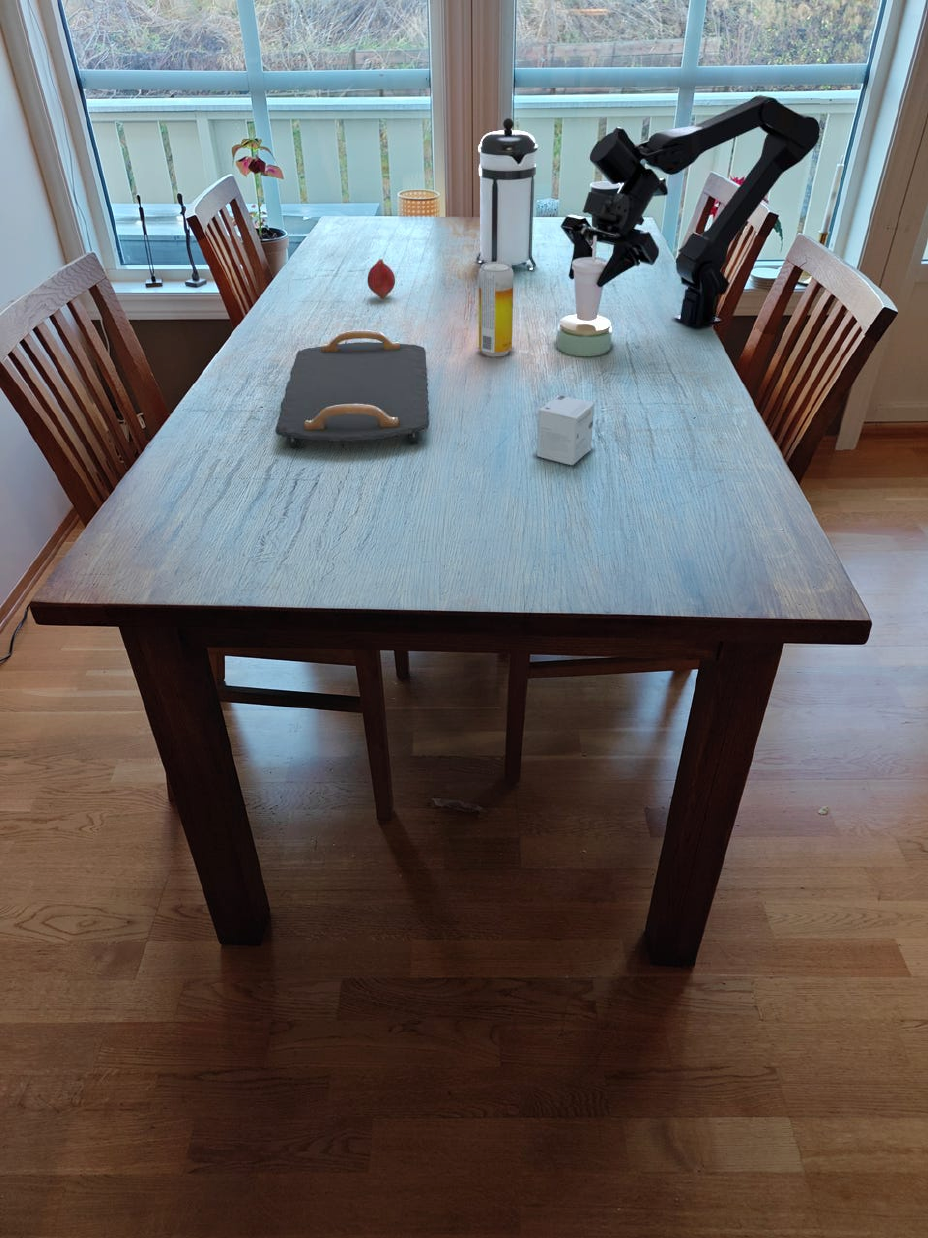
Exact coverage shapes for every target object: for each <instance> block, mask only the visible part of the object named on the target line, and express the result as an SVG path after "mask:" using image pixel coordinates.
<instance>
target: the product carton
mask: <svg viewBox="0 0 928 1238" xmlns="http://www.w3.org/2000/svg"><path fill="white" fill-rule="evenodd" d="M594 415H595V402H594V403H593V402H592V401H588V400H582V399H578V398H573V397H569V396H565V395H559V394H558V395H557V396H555V397H553V398H552V399H551V400H549V401H547V402H546V403H545V404H544V405H543V406H541V407H540V408H539V409H538V415H537V416H538V417H537V418H538V419H537V434H536V435H537V438H536V457H539V458H542V459H545V460H550V461H553V462H557V463H561V464H564V465H568V466H574V465H575V464H576V463H578V461H579V460H580V459H581V458H583V457H584V456H585V455H586V454H588V453H589V452H590V451H591V449H592V439H593V426H594Z"/></svg>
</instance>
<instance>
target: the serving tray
mask: <svg viewBox="0 0 928 1238" xmlns="http://www.w3.org/2000/svg"><path fill="white" fill-rule="evenodd" d="M359 339H360V340H361V339H365V340H366V339H369V340H375V341H379V342H373V341H372V342H370V341H365V342H362V341H361V342H359V341H358V342H347V343H342V342H345V341H349V340H359ZM426 351H427V350H426V349H425V347H423V346H420V345H417V344H407V343H400V341H397V342H396V341H392V340H391V339H390V338H389V337H388V336H386V335H385V334H384V333H382V332H380V331H376V330H368V329H365V330H364V329H356V330H348V331H343V332H340V333H338V334H337V335H335V336H334V337H333V338H332V339H331V340H330V342H328V343H327V344H321V346H315V347H307V348H305V349H302V350H298V351H297V353H296V354H295V358H294V362H293V365H292V367H291V370H290V371H289V372H290V373H289V374H290V377H289V380H288V381H287V384H286V385H285V389H284V391H285V392H284V397H283V398H282V401H281V402H280V412H279V416H278V418H277V422H276V426H275V434H276V435H277V436H281V437H285V444H286V445H287V446H288V448H289V449H297V448H298V447H299V445H300V443H301V440H304V441H305V440H306V441H315V442H317V441H318V442H335V443H337V442H339V443H340V442H364V441H373V440H374V441H376V440H381V439H390V438H395V437H402V436H406V439H407V441H408V442H409V444H411V445H416V444H419V442H420V440H421V439H422V438H421V437H422V434H421V432H423V431H425V430H428V429H429V426H430V418H429V417H430V412H429V411H430V409H429V403H430V402H429V400H428V398H429V395H428V394H429V390H428V387H429V386H428V385H429V383H428V368H427V357H426V356H427V352H426Z"/></svg>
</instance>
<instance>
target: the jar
mask: <svg viewBox="0 0 928 1238" xmlns="http://www.w3.org/2000/svg"><path fill="white" fill-rule="evenodd" d="M612 337H613V328H612V325H611V321H610V320H609V319H608V318H606V317H603V316H601V315H597V319H596V320H593V321H581V320H578V319H577V316H576V314H571V315H568V316H565V317H563V318H561V319H560V320H559V324H558V325H557V329H556V343H555V346H556V348H557V349H558V350H559V351H560V352H562V353H564V354H566V355H570V356H576V357H595V356H600V355H604V354H606V353H607V352H609V351H610V350H611V348H612Z"/></svg>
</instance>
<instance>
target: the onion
mask: <svg viewBox="0 0 928 1238" xmlns="http://www.w3.org/2000/svg"><path fill="white" fill-rule="evenodd" d="M367 285H368V288H369V289H370V291H371V292H372V293H373V294H375V295H376V296H377V297H379V298H380V299H386V298H387V296H388V295H389V294H390V293H391V292H392V291H393V289H394V287H395V285H396V277H395V273H394V271H393V270H392V269H391V267H390V266H389V265H387V264H385V263H384V261H383V259H382V258H379V259H378V261H377V262H376V263H375V264H373V266H372V267H371V268H370V269H369V271H368V273H367Z"/></svg>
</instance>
